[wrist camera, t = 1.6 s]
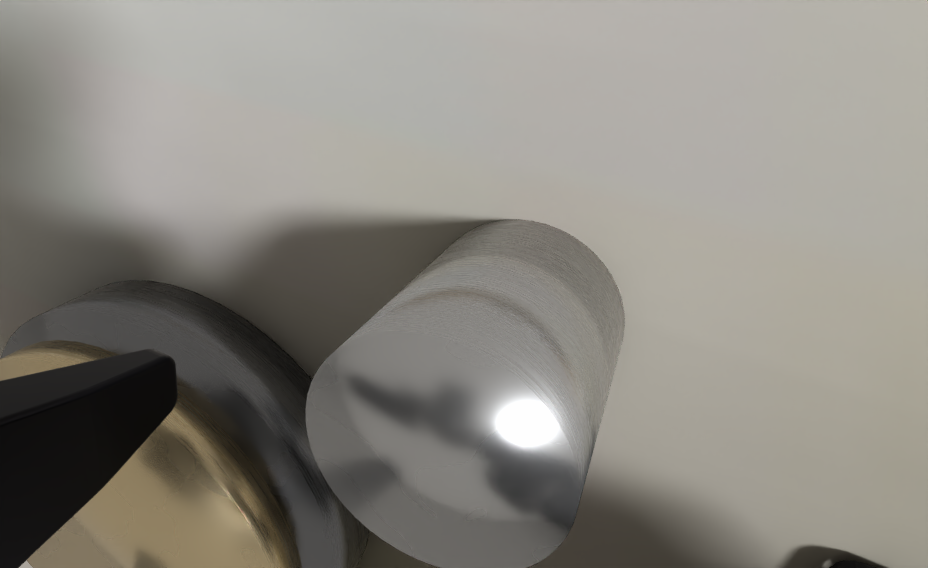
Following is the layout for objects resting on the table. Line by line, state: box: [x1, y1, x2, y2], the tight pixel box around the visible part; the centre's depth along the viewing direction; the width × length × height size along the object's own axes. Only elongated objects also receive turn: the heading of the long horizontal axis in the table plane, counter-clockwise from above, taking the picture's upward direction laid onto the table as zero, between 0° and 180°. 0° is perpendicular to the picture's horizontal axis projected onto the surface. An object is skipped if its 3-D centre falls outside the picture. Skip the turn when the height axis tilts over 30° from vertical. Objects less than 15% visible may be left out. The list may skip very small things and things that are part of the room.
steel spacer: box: [306, 220, 625, 568], centre depth 11 cm, size 4×4×5 cm
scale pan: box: [0, 340, 302, 568], centre depth 17 cm, size 11×11×1 cm
